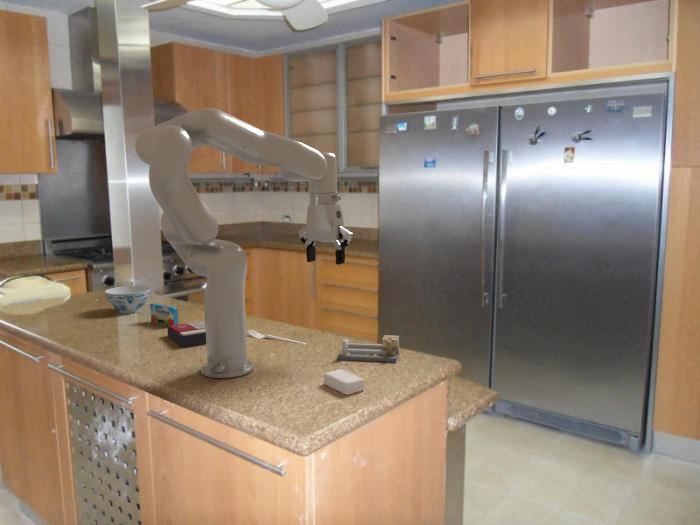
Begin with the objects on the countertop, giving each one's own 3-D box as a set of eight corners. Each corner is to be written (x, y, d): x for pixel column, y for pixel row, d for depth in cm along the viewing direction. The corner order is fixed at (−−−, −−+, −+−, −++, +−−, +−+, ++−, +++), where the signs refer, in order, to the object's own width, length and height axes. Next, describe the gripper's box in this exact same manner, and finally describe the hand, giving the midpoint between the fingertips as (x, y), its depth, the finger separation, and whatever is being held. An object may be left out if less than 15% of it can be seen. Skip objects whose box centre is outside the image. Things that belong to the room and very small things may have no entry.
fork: (302, 348, 163) (302, 341, 162) (246, 337, 172) (246, 331, 172) (309, 345, 165) (309, 338, 165) (253, 334, 175) (252, 328, 174)
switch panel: (396, 362, 147) (396, 345, 146) (337, 359, 149) (337, 342, 149) (399, 351, 156) (399, 335, 155) (344, 349, 158) (343, 333, 157)
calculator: (202, 320, 179) (220, 327, 166) (203, 333, 179) (221, 342, 166) (166, 325, 173) (182, 333, 160) (167, 339, 173) (183, 349, 160)
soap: (322, 385, 132) (322, 372, 132) (342, 380, 135) (342, 367, 135) (345, 397, 125) (345, 383, 124) (365, 391, 128) (365, 378, 128)
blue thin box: (178, 326, 184) (177, 307, 183) (174, 327, 183) (173, 308, 182) (155, 321, 191) (153, 302, 190) (151, 322, 190) (150, 303, 189)
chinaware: (135, 304, 216) (134, 284, 214) (160, 310, 207) (159, 288, 206) (97, 312, 204) (96, 290, 202) (122, 318, 195) (121, 295, 194)
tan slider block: (396, 356, 148) (396, 342, 147) (381, 355, 149) (381, 342, 148) (399, 348, 154) (399, 335, 154) (384, 347, 155) (384, 335, 155)
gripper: (358, 199, 154) (359, 262, 157) (306, 198, 164) (308, 258, 167) (342, 200, 148) (344, 267, 151) (289, 200, 158) (292, 262, 160)
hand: (325, 262), depth 159 cm, fingers open, 9 cm apart
